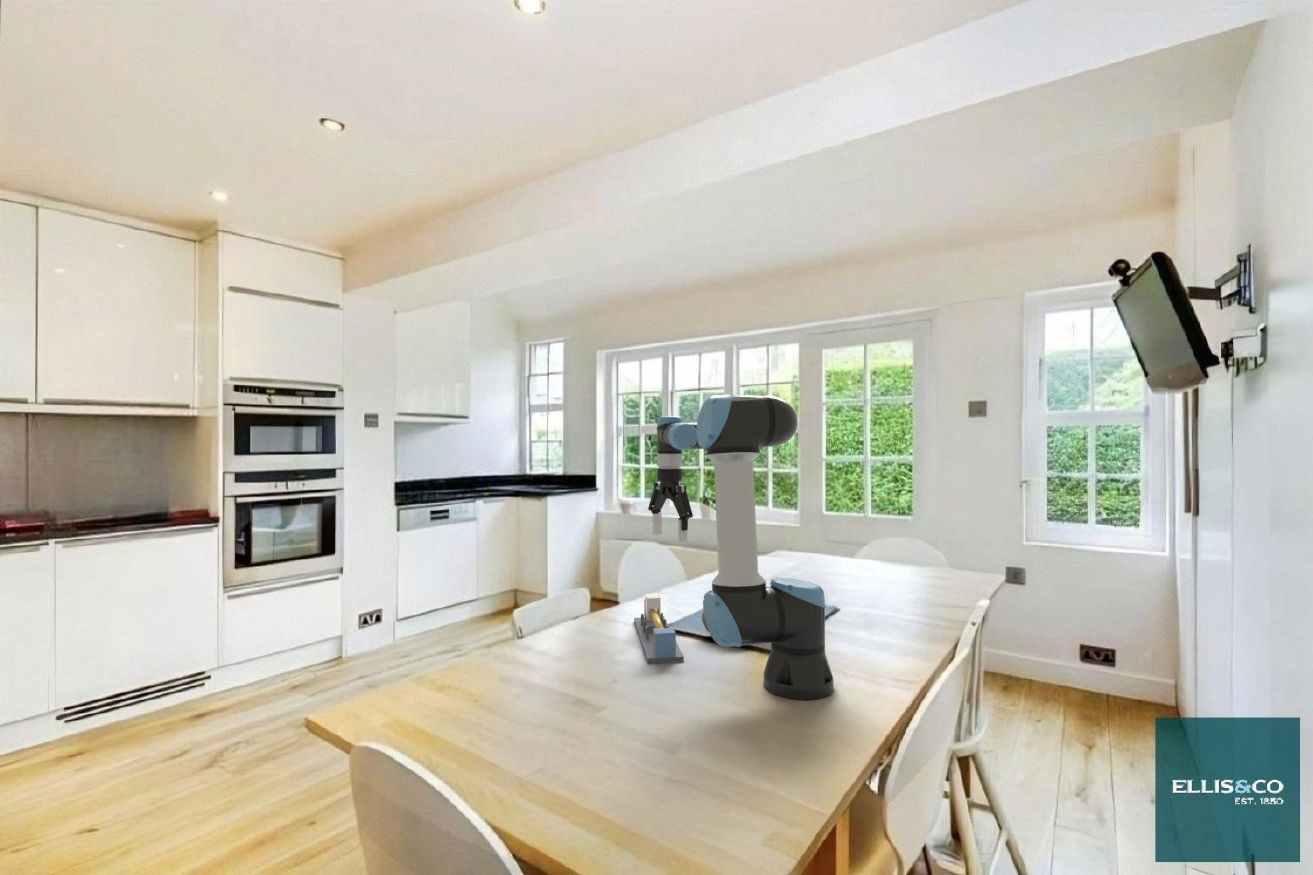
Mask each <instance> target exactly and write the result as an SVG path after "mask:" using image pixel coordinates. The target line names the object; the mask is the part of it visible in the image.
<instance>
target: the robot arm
mask: <svg viewBox="0 0 1313 875" xmlns="http://www.w3.org/2000/svg"><path fill="white" fill-rule="evenodd" d="M656 423H657V424H656V448H657V450H656V453H657V454H656V466H657V467H658V468H657V470H656V471H657V472H656V478H657V481H656V482H654V483H653V490H652V494H651V498H650V501H649V504H648V510H647V511H650V512H651V514H652V535H653V536H659V535H662V533H663V532H662V530H663V529H662V527H663V526H662V525H663V524H662V509H663V506H664V504H665V503H666V501H667V499H668V500H670V501H671V502H672V503H673V506H674V508H675V510H676V512H677V514H678V516H679V517H678V519H677V524H678V525H677V529H678V530H677V541H678V543H681V542H682V543H683V542H688V529H689V527H688V526H689V519H690V518H691V519H692V518H693V517H694V515H693V511H692V508H691V504H690V500H689V497H688V493H687V486H686V484H682V485H681V484H680V482H681V481H682V480H683V469H682V468H681V467H682V466H683V460H682V459H683V456H682V455H683V451H685V450H704V449H705V450H706V457H707V459H709V460H710V461H711V463H713V468H714V496H715V518H716V519H715V521H716V546H717V548H716V549H717V569H718V570H717V572H718V573H717V575H716V576H715V577H714V578H713V579H712V581H711V590H708V591H706V592H705V593H704V595H703V600H702V608H703V610H702V611H703V612H704V617H705V621H706V624H707V627H708V630H709V632H710V633H709V632H708V633H709V634H710V636H711V637H712V639H713V641H714V642H715V643H716V644H717V645H719V646H721V647H725V648H726V647H736V648H740V647H742V646H743V647H744V646H750V645H759V644H767V643H770V645H771V647H770V652H769V655H768V658H767V660H766V664H765V667H764V670H763V686H764V687H765V688H766V689H767V691H769V692H771V693H773V694H775V695H778V696H781V697H783V698H787V699H788V698H789V699H794V700H804V701H805V700H818V699H822V698H826V697H828V696H830V695H831V694H833V692H834V689H835V688H834V680H835V679H834V676H833V672H832V670H831V667H830V663H829V660H828V658H827V654H826V608H827V605H826V599H825V593H824V590H823V588H822V587H821V586H820V585H819V584H817V583H813V582H811V581H807V580H803V579H799V578H793V577H791V578H790V577H783V576H781V577H775V578H774V577H773V578H771V580H770V583H769V585H770V586H767V584H766V579H765V578H764V577H763V576H762V575H761V574H760V573H759V561H758V544H757V543H758V541H757V539H758V538H757V537H758V536H757V520H756V519H757V517H756V499H755V497H756V496H755V483H754V482H755V480H754V479H755V478H754V462H755V460H756V459H757V458H758V457H759V456H760V448H766V447H767V448H770V447H771V448H772V447H776V446H777V447H778V446H781V445H783V444H786V443H787V442H788V441H790V440H791V439H792V438H793V436H794V435H795V433H796V431H797V428H798V416H797V414H796V411H795V409H794V408H793V406H792V405H791V404H789V402H788V401H786V400H785V399H782V398H780V397H777V396H773V395H746V394H720V395H718V394H717V395H712V396H708V397H707V398H706V399H705V401H704V402H703V403H702V405H701V407H700V410H699V412H698V417H697V422H685V421H684V422H683V420H682V417H681V416H659V417H658V418H657V421H656Z"/></svg>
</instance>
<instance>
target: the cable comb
mask: <svg viewBox="0 0 1313 875" xmlns="http://www.w3.org/2000/svg"><path fill="white" fill-rule="evenodd" d="M643 604H644V605H643V608H644V610H643V612H644V613H640V617H633V620H634V621H633V623H634V625H635V628H636V631H637V635H638V637H639V641H640V644H641V648H642V651H643V654H644V656H645V659H646V660H645V661H646V663H647V664H663V663H664V664H665V663H666V664H667V663H679V662H680V663H681V662H685V657H684V654H683V652H682V650H681V648H680V646H679V645H678V642H677V638H676V637H677V635H676V634H677V633H676V630H675V629H674V627H670V625H669V624H668V622H667V619H666V618H665V616H664V613H663V612H661V620H660V618H659V616H658V614H657V612H656V609H649V614H651V616H652V619H653V621H647V619H646V616H645V598H644V600H643Z"/></svg>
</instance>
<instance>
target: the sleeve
mask: <svg viewBox="0 0 1313 875" xmlns="http://www.w3.org/2000/svg"><path fill="white" fill-rule="evenodd" d="M644 599H645V616H646V619H647V621H653V619H652V616H651V614H649V609H655V610H656V612H657V614H658V616H659V618H660V620H661V613H662V612H661V609H662V608H661V596H660V594H659V593H645V594H644Z"/></svg>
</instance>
